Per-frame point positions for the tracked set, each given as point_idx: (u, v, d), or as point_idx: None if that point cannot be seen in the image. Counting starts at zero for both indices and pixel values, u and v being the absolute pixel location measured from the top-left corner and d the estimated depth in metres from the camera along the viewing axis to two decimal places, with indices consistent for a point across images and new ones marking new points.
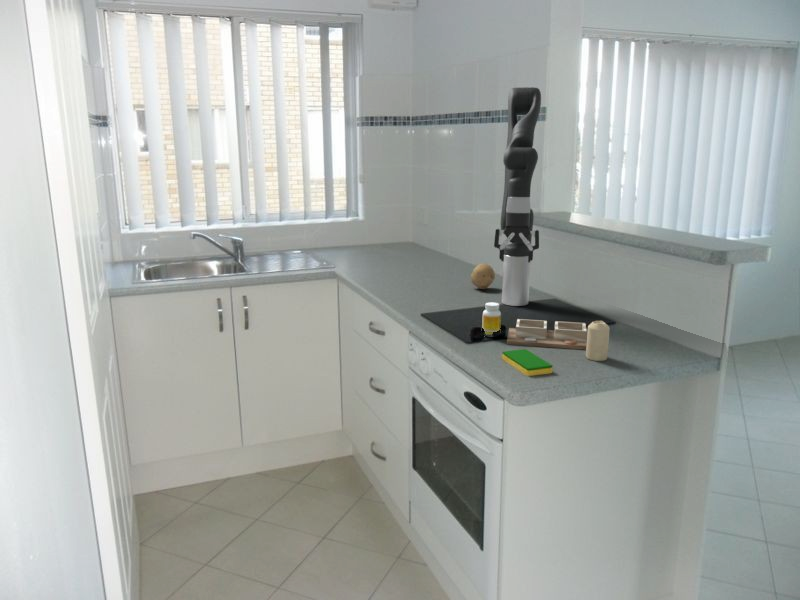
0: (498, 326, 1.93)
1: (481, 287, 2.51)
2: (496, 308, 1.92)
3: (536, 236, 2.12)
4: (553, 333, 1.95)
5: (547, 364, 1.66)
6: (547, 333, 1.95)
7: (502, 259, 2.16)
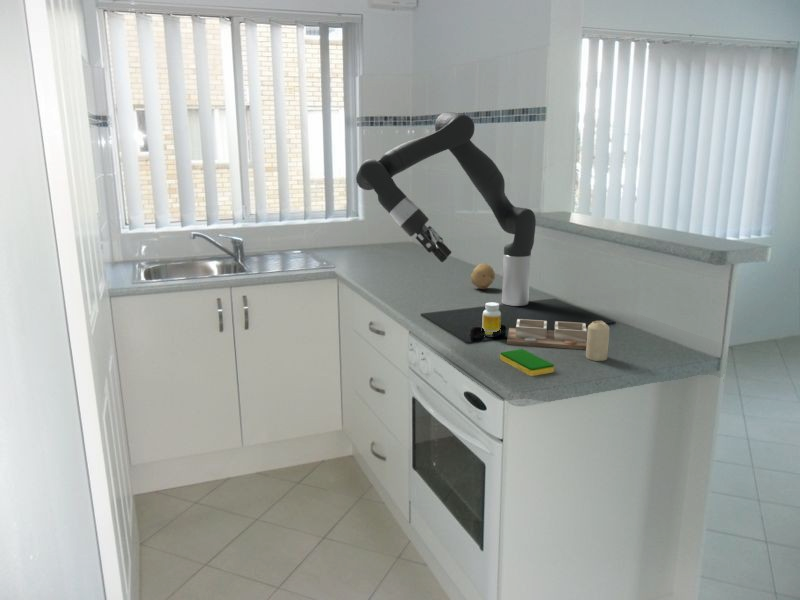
0: (498, 326, 1.93)
1: (481, 287, 2.51)
2: (496, 308, 1.92)
3: None
4: (553, 333, 1.95)
5: (549, 363, 1.66)
6: (547, 333, 1.95)
7: None
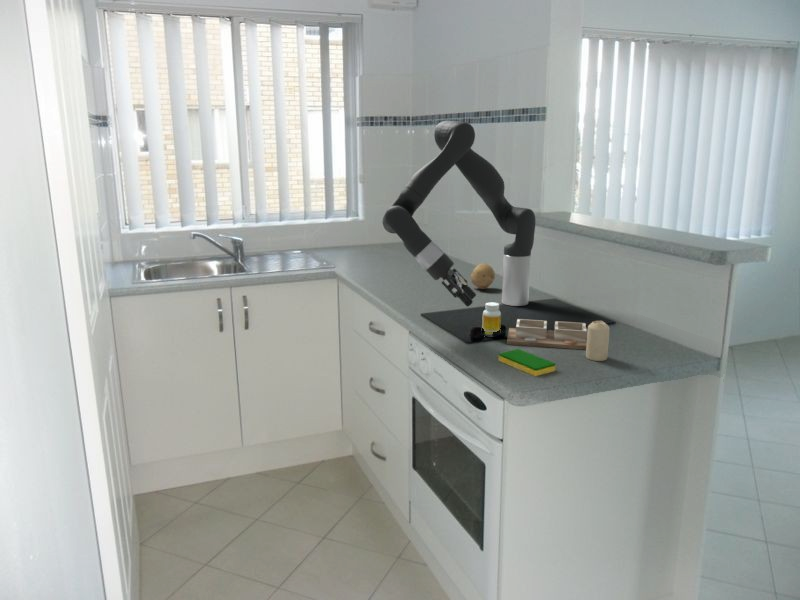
0: (498, 326, 1.93)
1: (481, 287, 2.51)
2: (496, 308, 1.92)
3: None
4: (553, 333, 1.95)
5: (550, 362, 1.67)
6: (547, 333, 1.95)
7: None
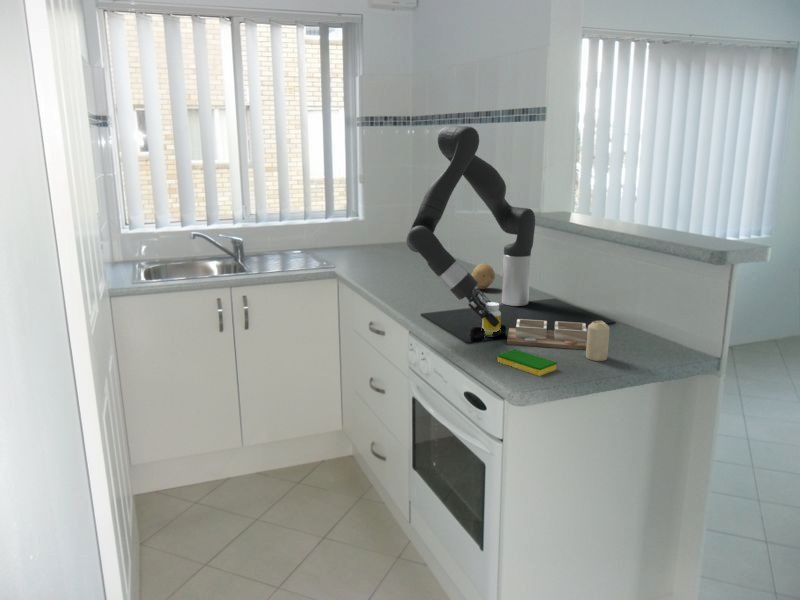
0: (498, 326, 1.93)
1: (481, 287, 2.51)
2: (496, 308, 1.92)
3: None
4: (553, 333, 1.95)
5: (551, 361, 1.68)
6: (547, 333, 1.95)
7: None
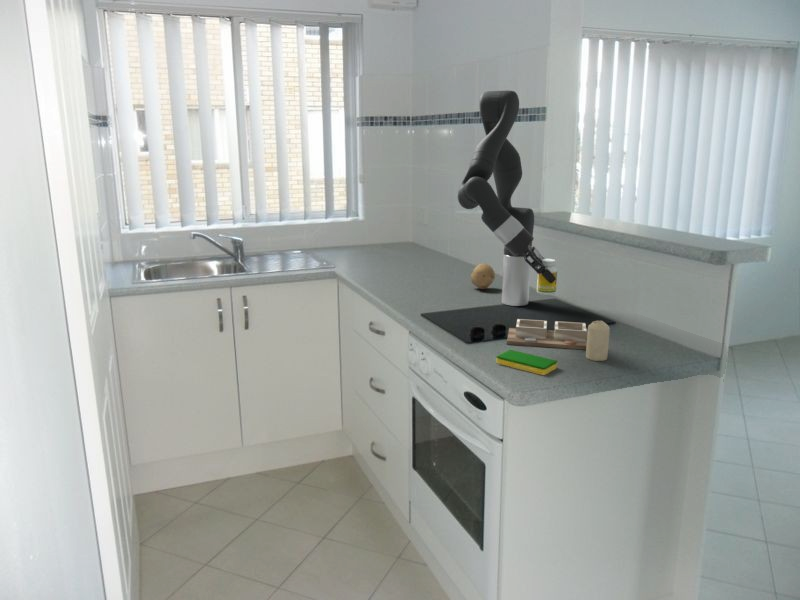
0: (554, 283, 1.87)
1: (481, 287, 2.51)
2: (552, 264, 1.86)
3: None
4: (553, 333, 1.95)
5: (552, 360, 1.69)
6: (547, 333, 1.95)
7: None
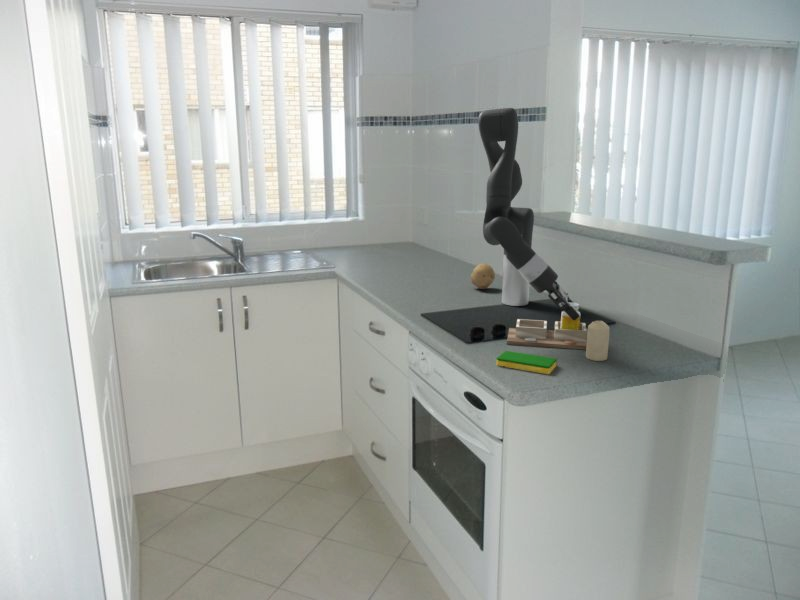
0: (577, 327, 1.89)
1: (481, 287, 2.51)
2: (576, 308, 1.88)
3: (553, 300, 1.84)
4: (553, 333, 1.95)
5: (552, 358, 1.70)
6: (547, 333, 1.95)
7: None
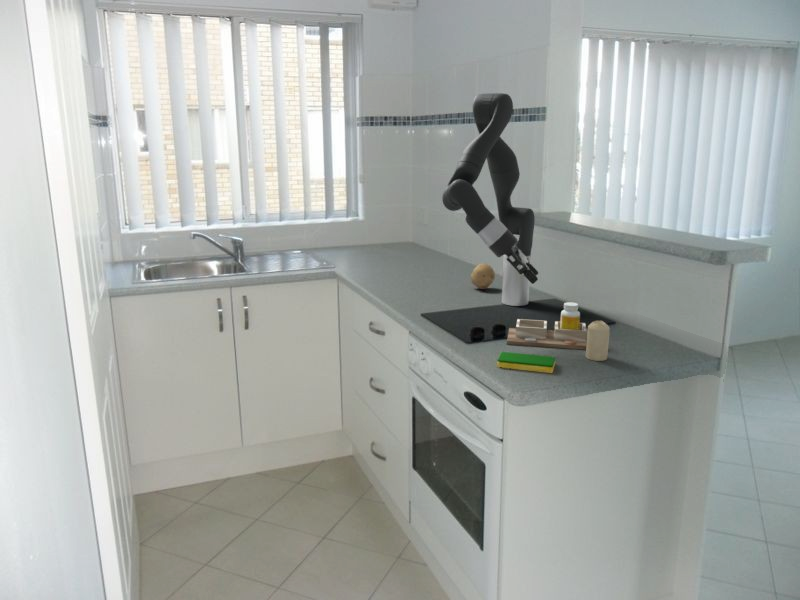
0: (577, 326, 1.89)
1: (481, 287, 2.51)
2: (575, 308, 1.88)
3: (511, 263, 1.84)
4: (553, 333, 1.95)
5: (551, 357, 1.71)
6: (547, 333, 1.95)
7: None
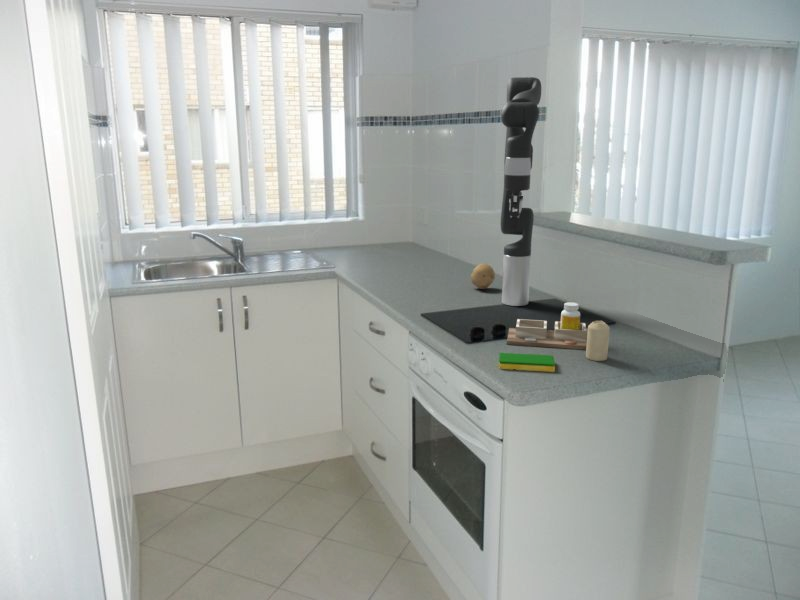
0: (577, 327, 1.89)
1: (481, 287, 2.51)
2: (576, 308, 1.88)
3: (510, 201, 1.91)
4: (553, 333, 1.95)
5: (549, 356, 1.72)
6: (547, 333, 1.95)
7: None
